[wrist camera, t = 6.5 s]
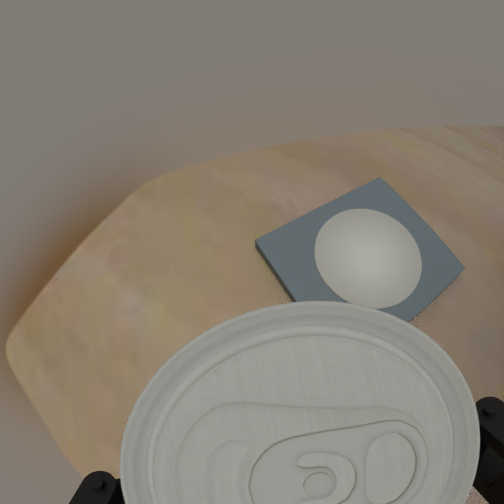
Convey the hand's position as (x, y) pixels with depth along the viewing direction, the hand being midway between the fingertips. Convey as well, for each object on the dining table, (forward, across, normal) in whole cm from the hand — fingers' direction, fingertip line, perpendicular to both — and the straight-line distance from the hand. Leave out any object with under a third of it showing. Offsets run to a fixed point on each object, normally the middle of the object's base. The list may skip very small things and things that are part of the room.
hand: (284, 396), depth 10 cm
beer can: (+4, 0, +6) cm, 8 cm away
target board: (+12, -9, 0) cm, 15 cm away
